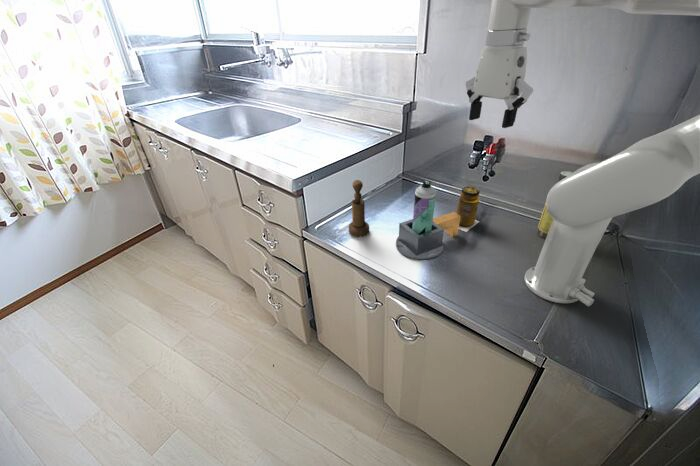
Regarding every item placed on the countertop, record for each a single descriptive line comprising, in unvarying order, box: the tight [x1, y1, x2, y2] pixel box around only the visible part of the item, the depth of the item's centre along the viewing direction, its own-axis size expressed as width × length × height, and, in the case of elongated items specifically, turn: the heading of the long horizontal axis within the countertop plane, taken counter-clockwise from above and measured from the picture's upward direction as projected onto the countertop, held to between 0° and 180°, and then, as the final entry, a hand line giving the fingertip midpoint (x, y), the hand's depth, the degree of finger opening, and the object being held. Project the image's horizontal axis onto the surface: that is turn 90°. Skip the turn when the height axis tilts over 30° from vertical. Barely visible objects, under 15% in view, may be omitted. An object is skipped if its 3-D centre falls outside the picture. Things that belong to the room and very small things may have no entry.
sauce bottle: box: [536, 170, 573, 239], centre depth 92 cm, size 6×6×20 cm
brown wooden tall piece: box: [348, 179, 370, 238], centre depth 98 cm, size 7×6×18 cm
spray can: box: [412, 180, 437, 235], centre depth 89 cm, size 6×6×20 cm
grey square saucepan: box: [395, 211, 461, 261], centre depth 94 cm, size 14×20×7 cm
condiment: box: [456, 186, 481, 233], centre depth 101 cm, size 7×8×12 cm
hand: (490, 122), depth 76 cm, fingers open, 9 cm apart
